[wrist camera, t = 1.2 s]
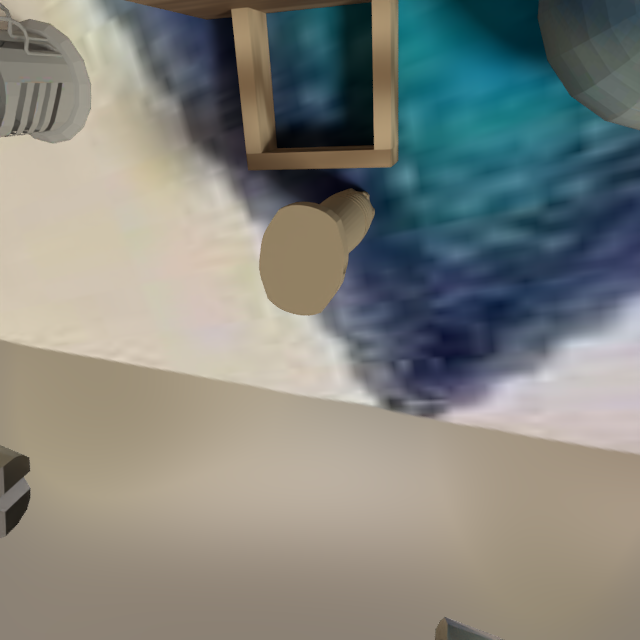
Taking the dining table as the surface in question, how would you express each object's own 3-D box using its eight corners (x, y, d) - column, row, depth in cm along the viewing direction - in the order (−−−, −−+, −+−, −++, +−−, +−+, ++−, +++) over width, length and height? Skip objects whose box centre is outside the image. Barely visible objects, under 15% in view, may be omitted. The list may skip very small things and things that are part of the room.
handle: (321, 238, 45) (254, 303, 32) (333, 161, 42) (266, 196, 29) (376, 252, 44) (332, 324, 31) (393, 174, 41) (352, 216, 28)
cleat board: (445, 159, 40) (417, 219, 22) (224, 165, 45) (58, 217, 27) (452, -42, 35) (423, -169, 17) (203, -12, 40) (-18, -87, 22)
